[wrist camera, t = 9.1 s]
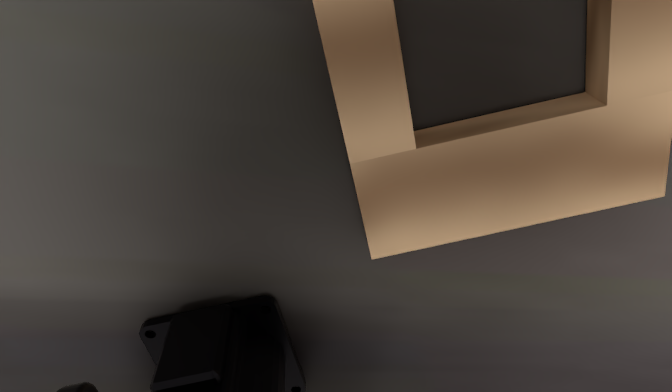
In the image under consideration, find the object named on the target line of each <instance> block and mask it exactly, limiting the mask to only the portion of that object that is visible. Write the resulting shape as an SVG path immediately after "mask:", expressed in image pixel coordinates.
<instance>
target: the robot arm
mask: <svg viewBox="0 0 672 392" xmlns="http://www.w3.org/2000/svg"><path fill="white" fill-rule="evenodd" d="M262 306H269V308H263V307H262ZM148 330H152V331H154V332H150V331H148ZM139 335H140V337H141V339H142V341H143V343H144V345H145V346H146V348H147V350H148V352H149V353H150V355H151V357H152V359H153V361H154V362H155V364H156V369H155V372H154V375H153V378H152V382H151V385H150V389H151V392H305V391H306V382H305V379H304V376H303V373H302V370H301V368H300V365H299V362H298V359H297V357H296V354H295V351H294V348H293V346H292V343H291V340H290V337H289V335H288V332H287V329H286V326H285V324H284V321H283V318H282V315H281V313H280V310H279V307H278V304H277V302H276V300H275V299H274V298H273V297H271V296H260V297H255V298H250V299H246V300H241V301H236V302H232V303H227V304H223V305H218V306H213V307H209V308H204V309H199V310H195V311H190V312H185V313H181V314H176V315H171V316H167V317H162V318H157V319H153V320H148V321H146V322H144V323H143V324H142V327H141V329H140V332H139ZM294 386H298V387H294ZM57 392H98V390H97V389H96V387H95V386H94V385H93V384H91V383H89V382H83V383H78V384H74V385H69V386H65V387H63V388H61V389H59V390H58V391H57Z"/></svg>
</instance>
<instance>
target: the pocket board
mask: <svg viewBox="0 0 672 392" xmlns="http://www.w3.org/2000/svg"><path fill="white" fill-rule="evenodd" d="M312 1H313V5H314V9H315V14H316V18H317V23H318V27H319V31H320V36H321V40H322V44H323V49H324V53H325V57H326V62H327V66H328V71H329V75H330V79H331V84H332V88H333V92H334V97H335V101H336V105H337V110H338V114H339V118H340V123H341V127H342V132H343V136H344V140H345V145H346V149H347V153H348V158H349V162H350V166H351V171H352V175H353V179H354V184H355V188H356V193H357V197H358V201H359V206H360V210H361V214H362V219H363V223H364V227H365V232H366V236H367V241H368V245H369V249H370V254H371V258H372V259H377V258H382V257H386V256H391V255H395V254H400V253H405V252H409V251H414V250H419V249H423V248H428V247H432V246H437V245H442V244H446V243H451V242H456V241H460V240H465V239H469V238H474V237H479V236H483V235H488V234H492V233H497V232H502V231H506V230H511V229H516V228H520V227H525V226H529V225H534V224H539V223H543V222H548V221H553V220H557V219H562V218H566V217H571V216H576V215H580V214H585V213H590V212H594V211H599V210H603V209H608V208H613V207H617V206H622V205H626V204H631V203H636V202H640V201H645V200H650V199H654V198H659V197H663V196H665V189H666V180H667V171H668V163H669V154H670V145H671V137H672V0H587V41H586V83H585V92H583V93H579V94H575V95H570V96H566V97H561V98H557V99H553V100H548V101H544V102H540V103H535V104H531V105H526V106H522V107H518V108H513V109H509V110H505V111H500V112H496V113H491V114H487V115H483V116H478V117H474V118H469V119H465V120H461V121H456V122H452V123H448V124H443V125H439V126H434V127H430V128H426V129H421V130H417V131H413V124H412V118H411V111H410V105H409V98H408V92H407V86H406V79H405V73H404V66H403V60H402V53H401V47H400V40H399V34H398V27H397V21H396V15H395V8H394V2H393V0H312Z"/></svg>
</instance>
